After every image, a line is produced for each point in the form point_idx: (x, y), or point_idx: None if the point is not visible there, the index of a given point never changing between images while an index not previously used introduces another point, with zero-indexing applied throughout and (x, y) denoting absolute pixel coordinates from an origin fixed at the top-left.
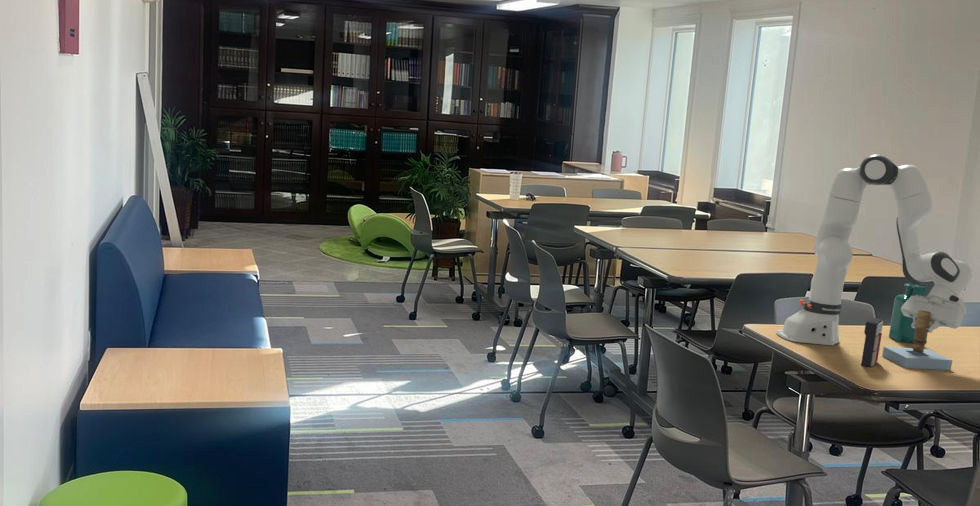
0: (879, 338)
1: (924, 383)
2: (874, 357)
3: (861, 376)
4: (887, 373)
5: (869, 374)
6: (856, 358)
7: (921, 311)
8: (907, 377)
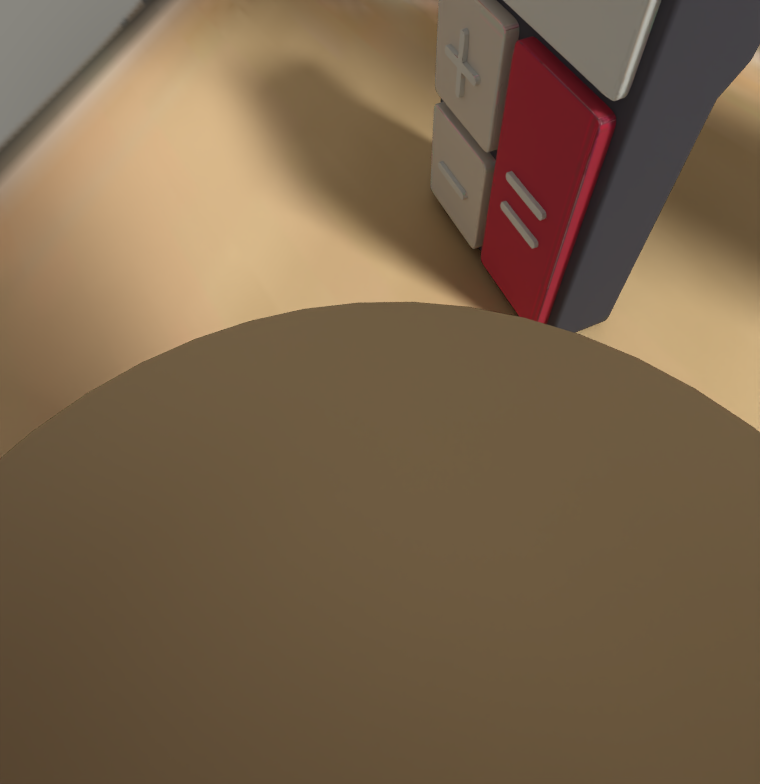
0: (519, 92)
1: (79, 222)
2: (448, 164)
3: (336, 46)
4: (308, 188)
5: (341, 95)
6: (644, 276)
7: (609, 608)
8: (198, 230)
